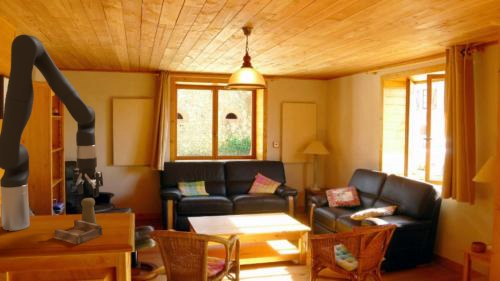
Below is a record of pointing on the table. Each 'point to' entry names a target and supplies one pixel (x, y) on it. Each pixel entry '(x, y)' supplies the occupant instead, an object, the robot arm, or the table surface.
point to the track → (79, 232)
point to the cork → (88, 210)
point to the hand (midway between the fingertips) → (88, 195)
